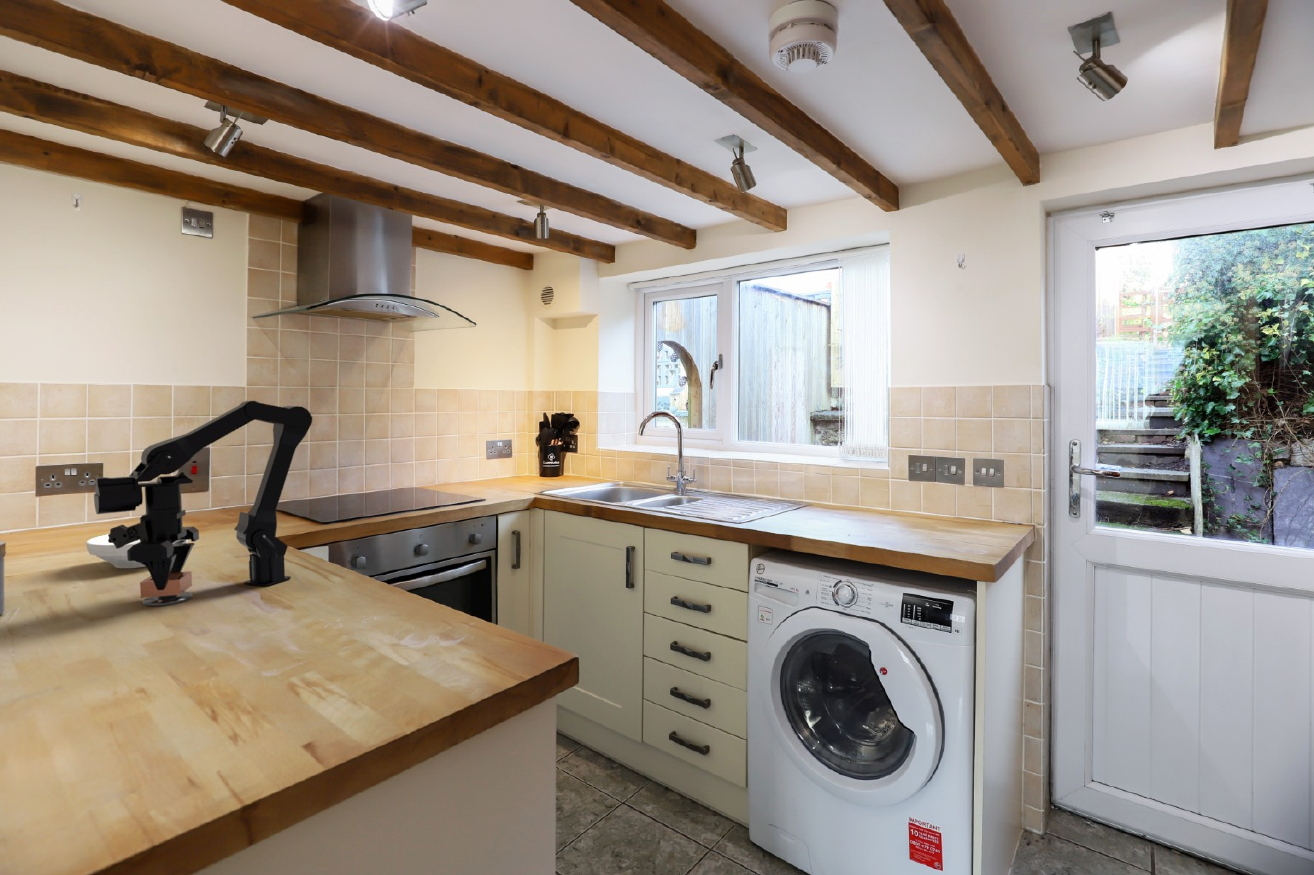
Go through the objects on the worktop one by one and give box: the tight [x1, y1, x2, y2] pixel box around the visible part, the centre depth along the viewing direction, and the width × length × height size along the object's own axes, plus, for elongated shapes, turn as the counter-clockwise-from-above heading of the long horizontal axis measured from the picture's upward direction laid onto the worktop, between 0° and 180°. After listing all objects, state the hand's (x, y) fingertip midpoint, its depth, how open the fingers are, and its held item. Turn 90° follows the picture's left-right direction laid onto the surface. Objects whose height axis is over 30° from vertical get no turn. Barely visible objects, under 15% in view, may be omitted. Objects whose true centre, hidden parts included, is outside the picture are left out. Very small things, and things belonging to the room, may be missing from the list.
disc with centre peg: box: [142, 578, 194, 607], centre depth 131 cm, size 8×8×4 cm
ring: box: [139, 570, 193, 599], centre depth 131 cm, size 6×6×3 cm
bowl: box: [85, 533, 189, 569], centre depth 159 cm, size 20×20×7 cm
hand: (167, 585), depth 131 cm, fingers closed on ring, 6 cm apart
